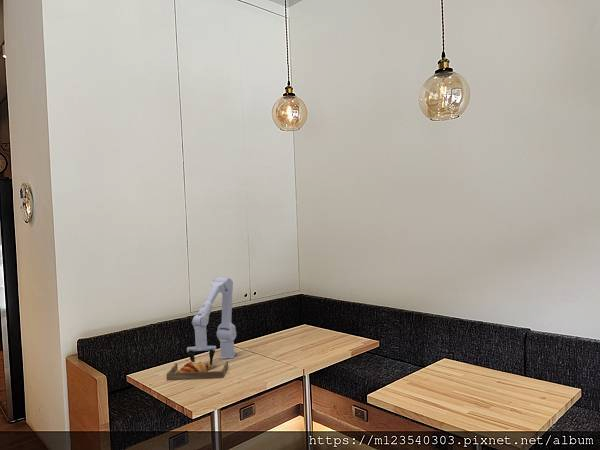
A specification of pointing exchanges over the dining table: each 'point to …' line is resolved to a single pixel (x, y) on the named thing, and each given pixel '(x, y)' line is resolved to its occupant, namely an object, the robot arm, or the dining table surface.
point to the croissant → (195, 367)
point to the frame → (195, 374)
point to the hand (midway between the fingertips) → (202, 364)
